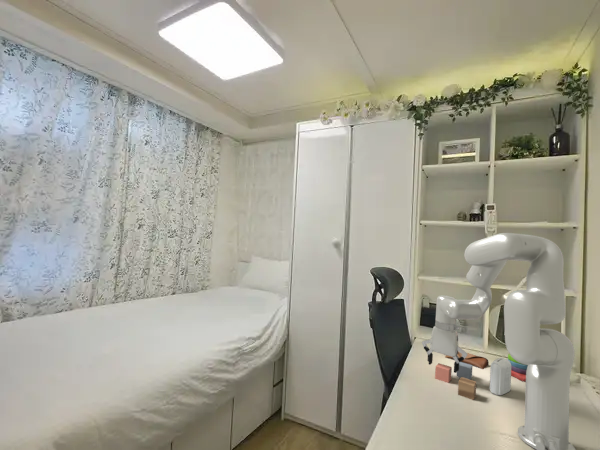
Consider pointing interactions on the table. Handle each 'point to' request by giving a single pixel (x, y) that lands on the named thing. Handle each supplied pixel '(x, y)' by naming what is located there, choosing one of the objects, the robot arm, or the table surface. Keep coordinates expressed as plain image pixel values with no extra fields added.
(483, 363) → the sunglasses case
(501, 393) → the photo printer
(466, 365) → the slate block
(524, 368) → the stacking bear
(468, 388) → the tan block
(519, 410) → the table surface
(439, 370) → the pink cube
